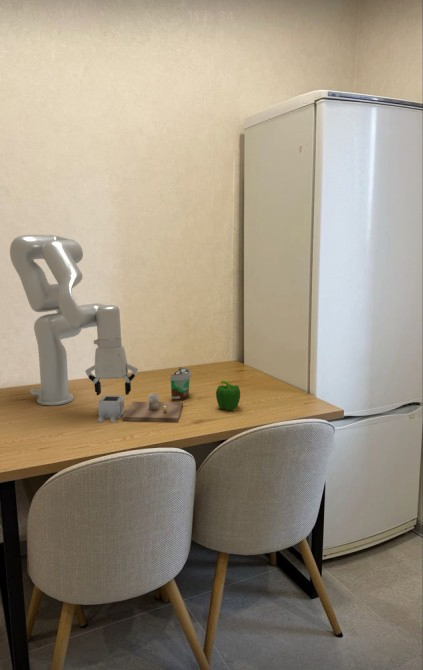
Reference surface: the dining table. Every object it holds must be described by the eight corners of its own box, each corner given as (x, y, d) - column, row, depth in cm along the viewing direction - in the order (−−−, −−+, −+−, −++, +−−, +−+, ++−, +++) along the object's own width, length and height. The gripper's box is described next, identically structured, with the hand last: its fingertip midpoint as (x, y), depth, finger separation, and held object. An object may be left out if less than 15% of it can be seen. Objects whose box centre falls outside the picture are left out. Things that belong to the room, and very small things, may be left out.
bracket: (104, 410, 181) (103, 395, 180) (124, 411, 180) (123, 395, 179) (95, 422, 170) (95, 405, 169) (117, 422, 170) (116, 406, 168)
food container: (187, 403, 189) (186, 376, 187) (170, 401, 190) (170, 375, 188) (195, 393, 201) (194, 367, 199) (179, 392, 202) (179, 366, 200)
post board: (122, 421, 170) (121, 402, 169) (132, 405, 186) (131, 387, 185) (178, 422, 170) (177, 402, 168) (183, 406, 185) (182, 388, 184)
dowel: (162, 413, 173) (162, 406, 173) (163, 412, 175) (163, 405, 174) (166, 413, 173) (166, 406, 173) (167, 412, 175) (166, 405, 174)
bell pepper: (245, 407, 184) (245, 379, 182) (232, 414, 177) (232, 385, 176) (224, 403, 189) (224, 376, 187) (211, 409, 182) (211, 381, 180)
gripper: (80, 346, 169) (84, 397, 172) (133, 344, 168) (136, 396, 171) (87, 341, 176) (90, 391, 179) (138, 340, 176) (141, 390, 178)
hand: (113, 393), depth 175 cm, fingers open, 9 cm apart
